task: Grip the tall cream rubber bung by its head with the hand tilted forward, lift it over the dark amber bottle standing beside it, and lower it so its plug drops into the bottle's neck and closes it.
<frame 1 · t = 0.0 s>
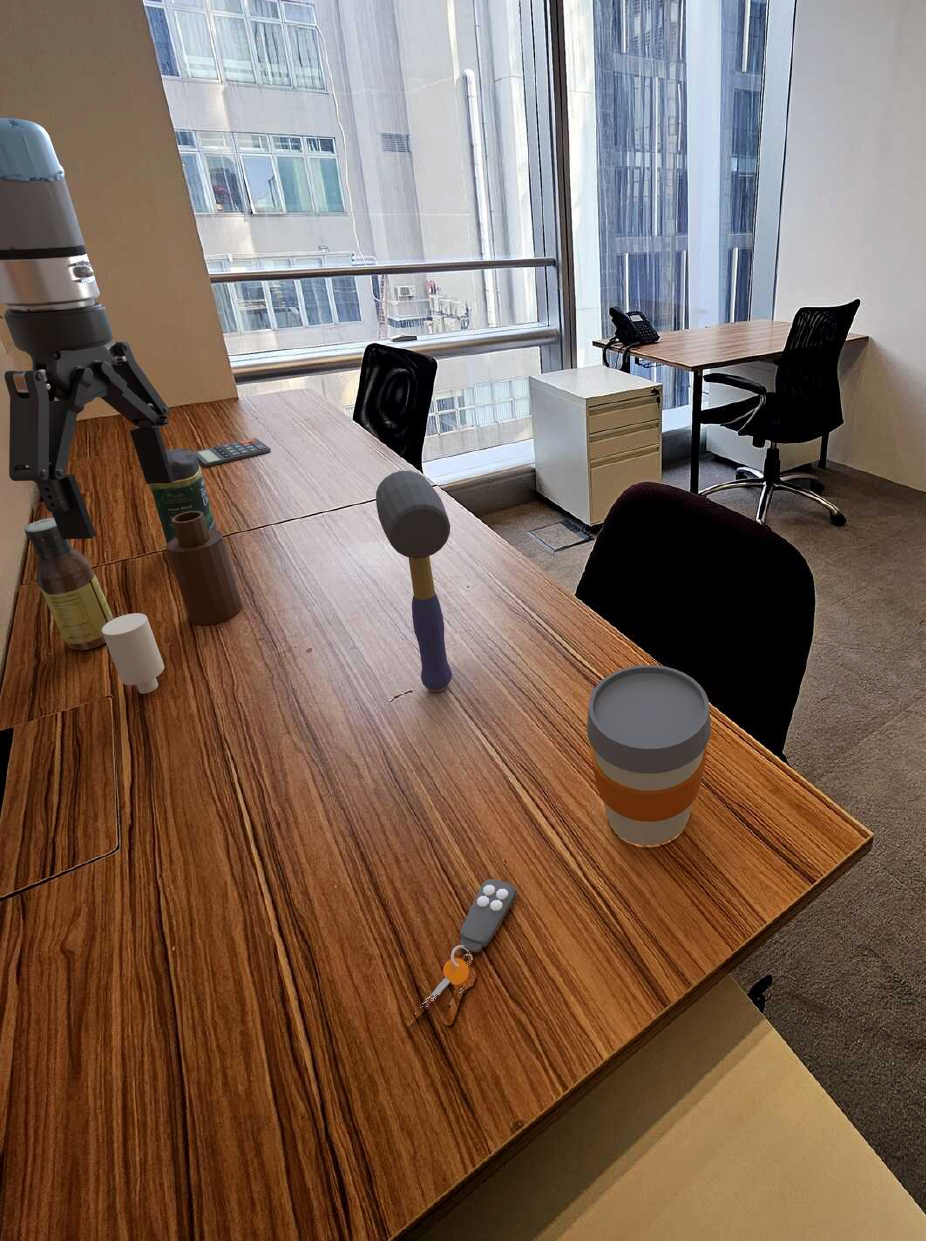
hand: (123, 507, 72), 30 cm above the table, tool pointing down, fingers open, 13 cm apart
bottle: (216, 612, 108), on the table
key chain: (467, 956, 60), on the table
bung: (148, 688, 91), on the table
coffee jar: (196, 546, 128), on the table
rubber mallet: (438, 687, 92), on the table
calculator: (232, 453, 172), on the table
sauce bottle: (93, 642, 101), on the table
reusable coffee cup: (647, 813, 73), on the table
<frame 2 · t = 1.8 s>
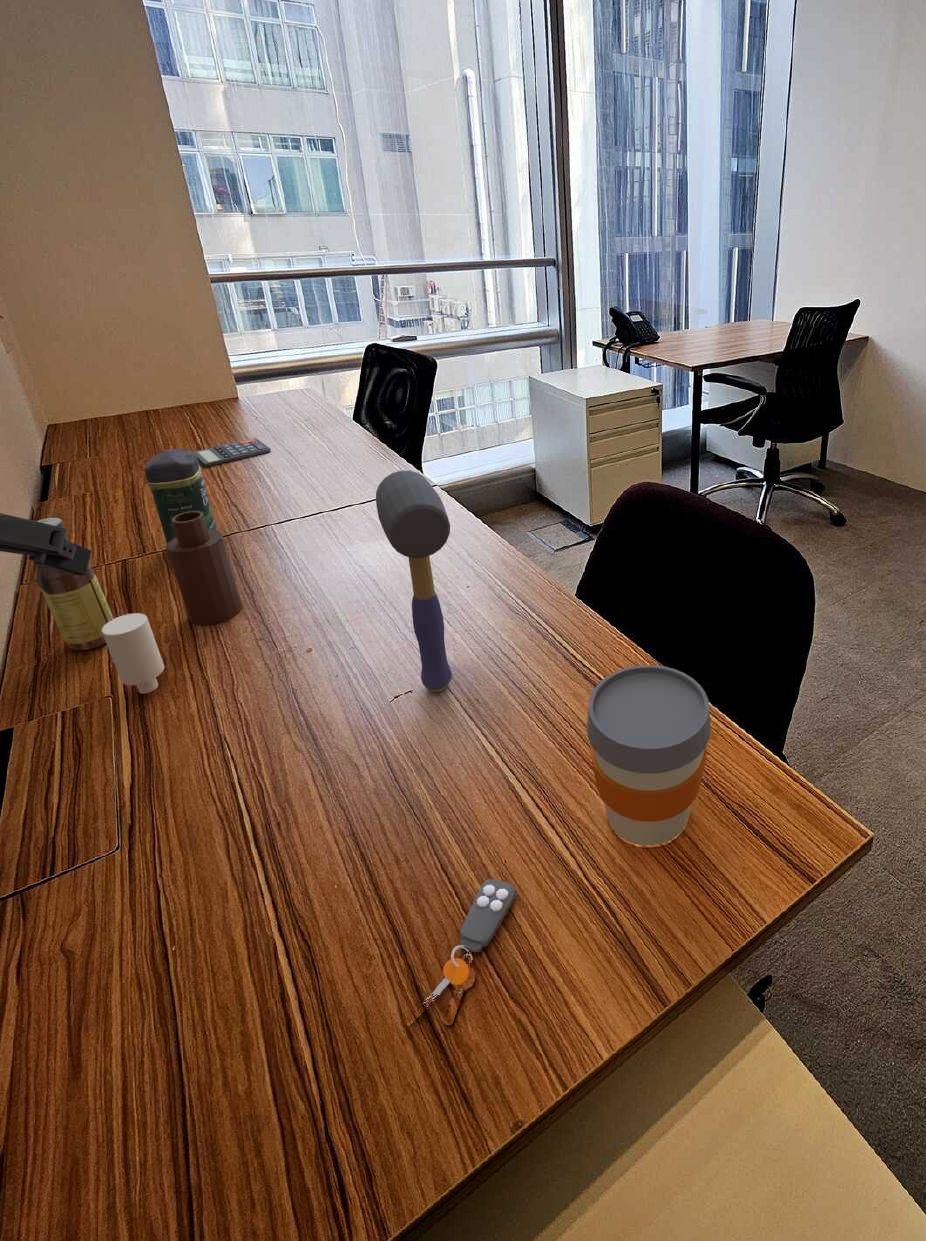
hand: (17, 565, 71), 25 cm above the table, tool tilted 45°, fingers open, 13 cm apart
nothing on the table moved.
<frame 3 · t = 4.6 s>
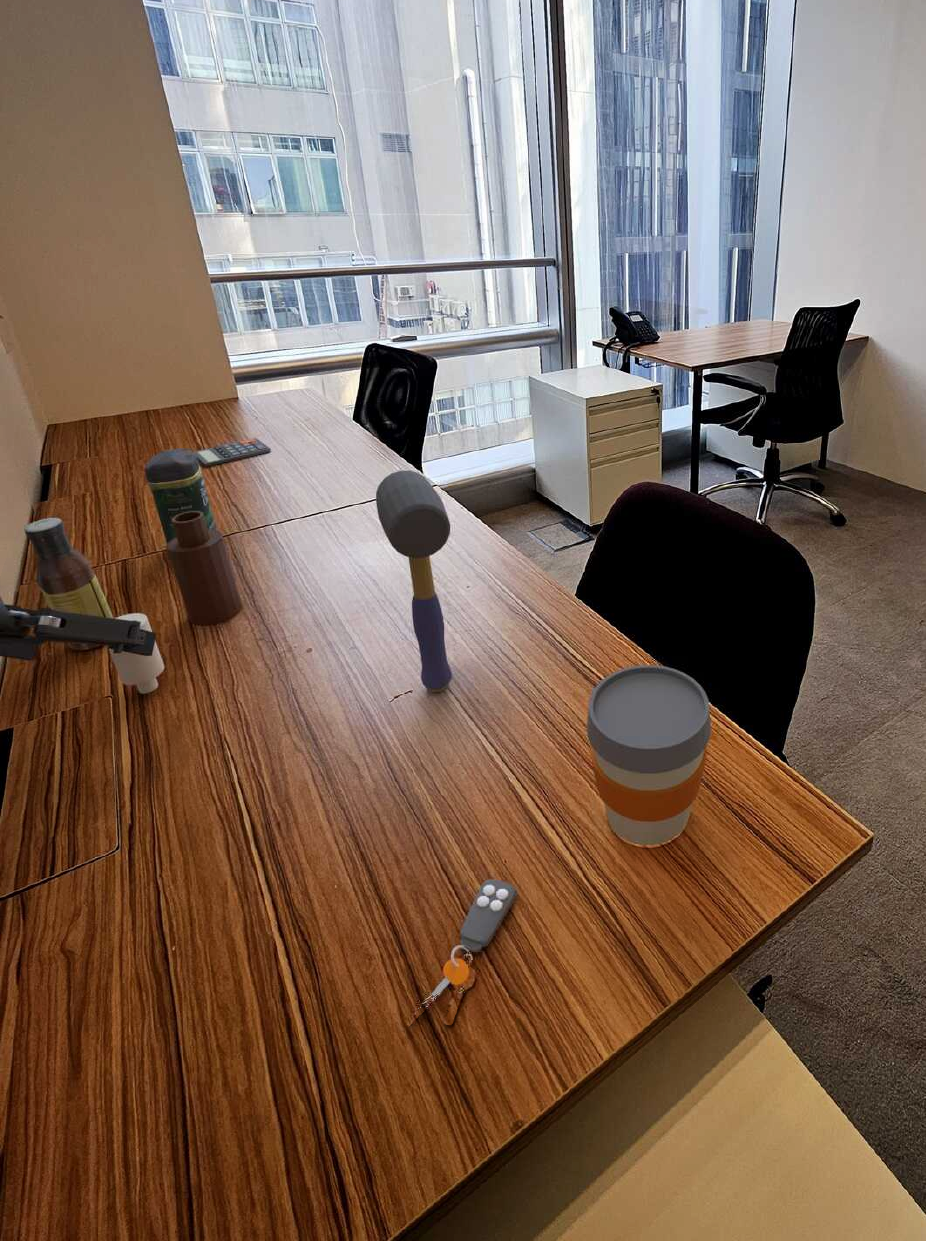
hand: (92, 646, 82), 11 cm above the table, tool tilted 45°, fingers open, 13 cm apart
nothing on the table moved.
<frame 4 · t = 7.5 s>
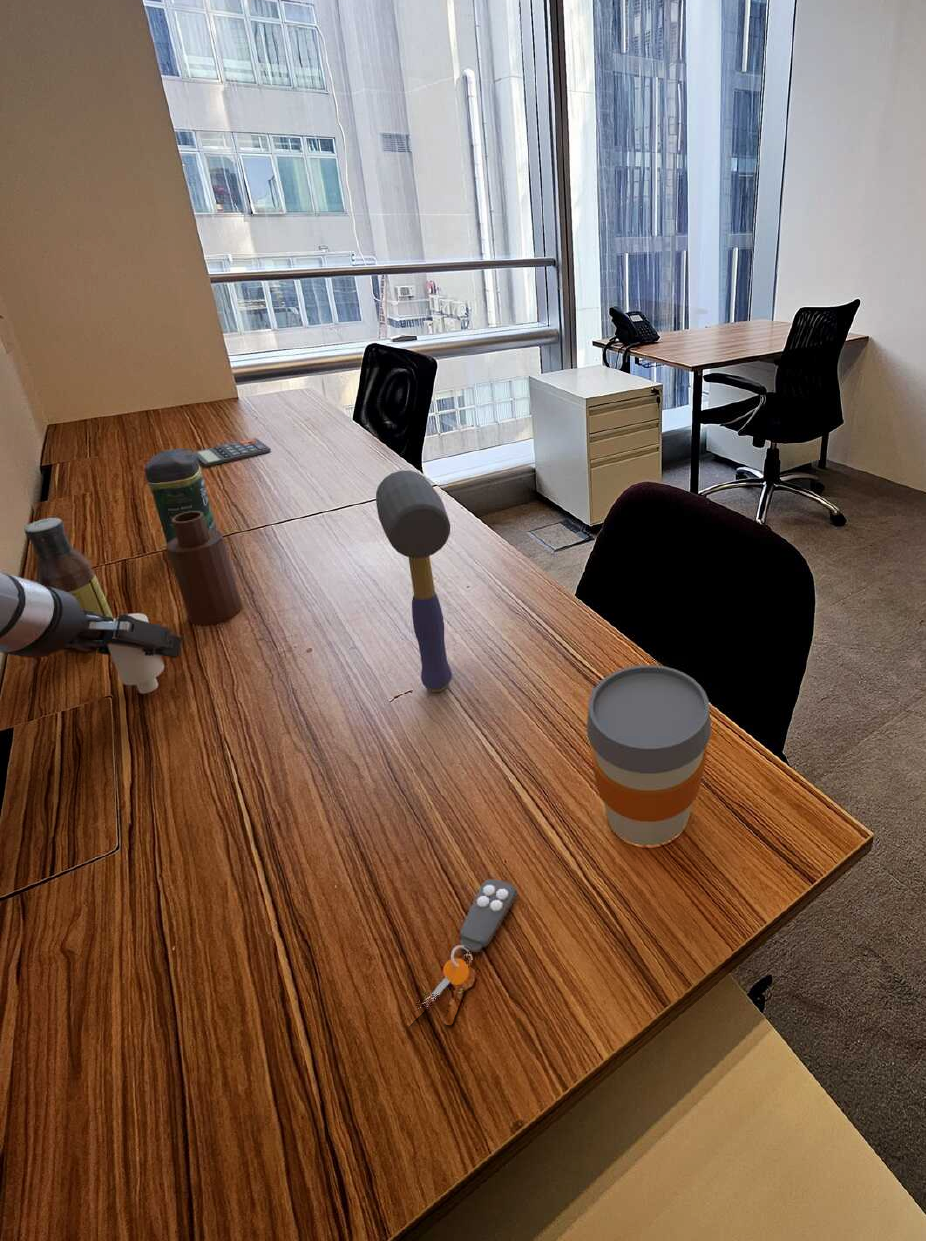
hand: (156, 648, 93), 4 cm above the table, tool tilted 45°, fingers closed on bung, 5 cm apart
bung: (148, 688, 91), on the table, touching gripper
everything else where it was.
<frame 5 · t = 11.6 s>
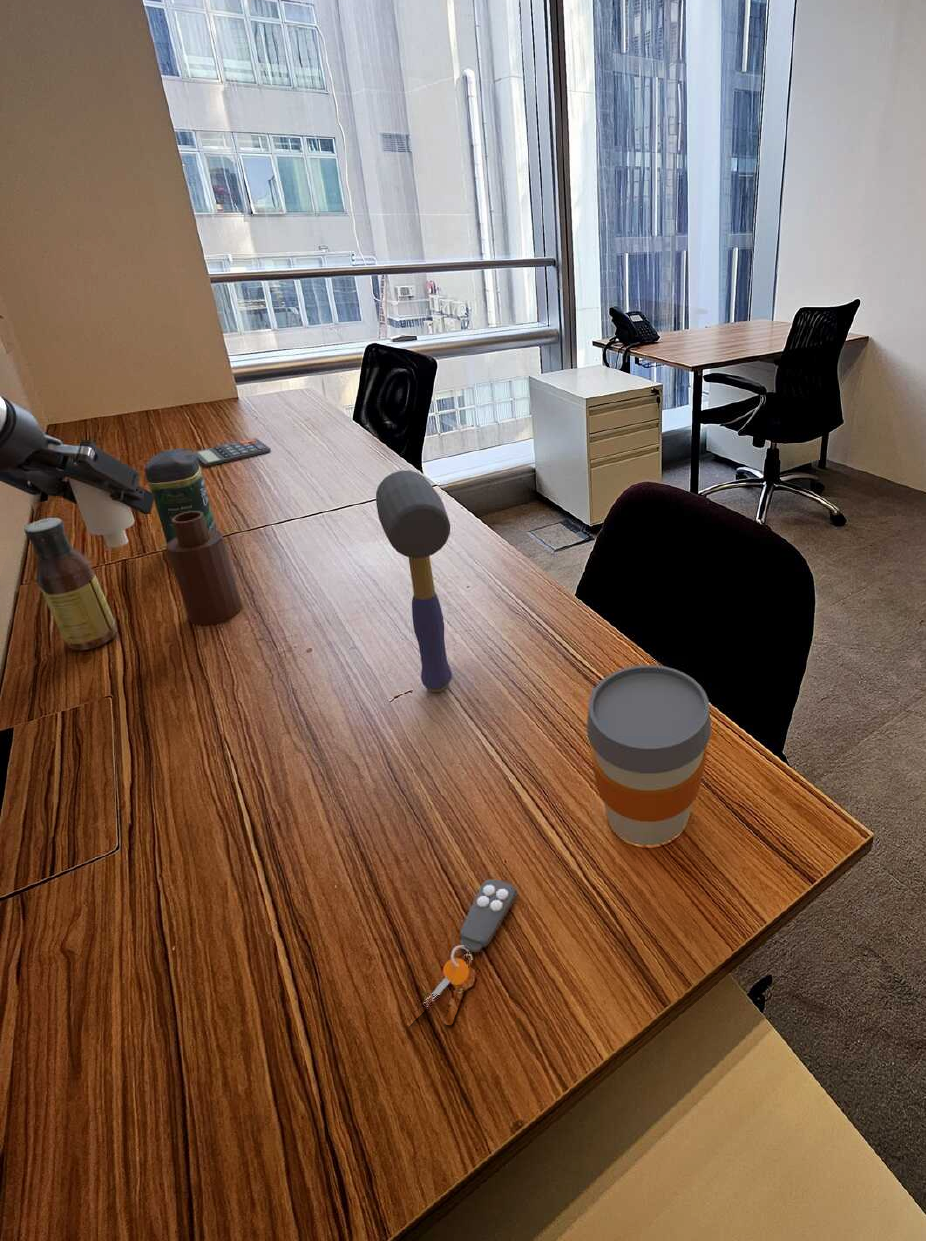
hand: (127, 504, 88), 24 cm above the table, tool tilted 45°, fingers closed on bung, 5 cm apart
bung: (117, 543, 86), point 20 cm above the table, touching gripper
everything else where it was.
when the fingers open (18 cm above the table, at t = 15.9 s): bung stays where it is, resting on bottle.
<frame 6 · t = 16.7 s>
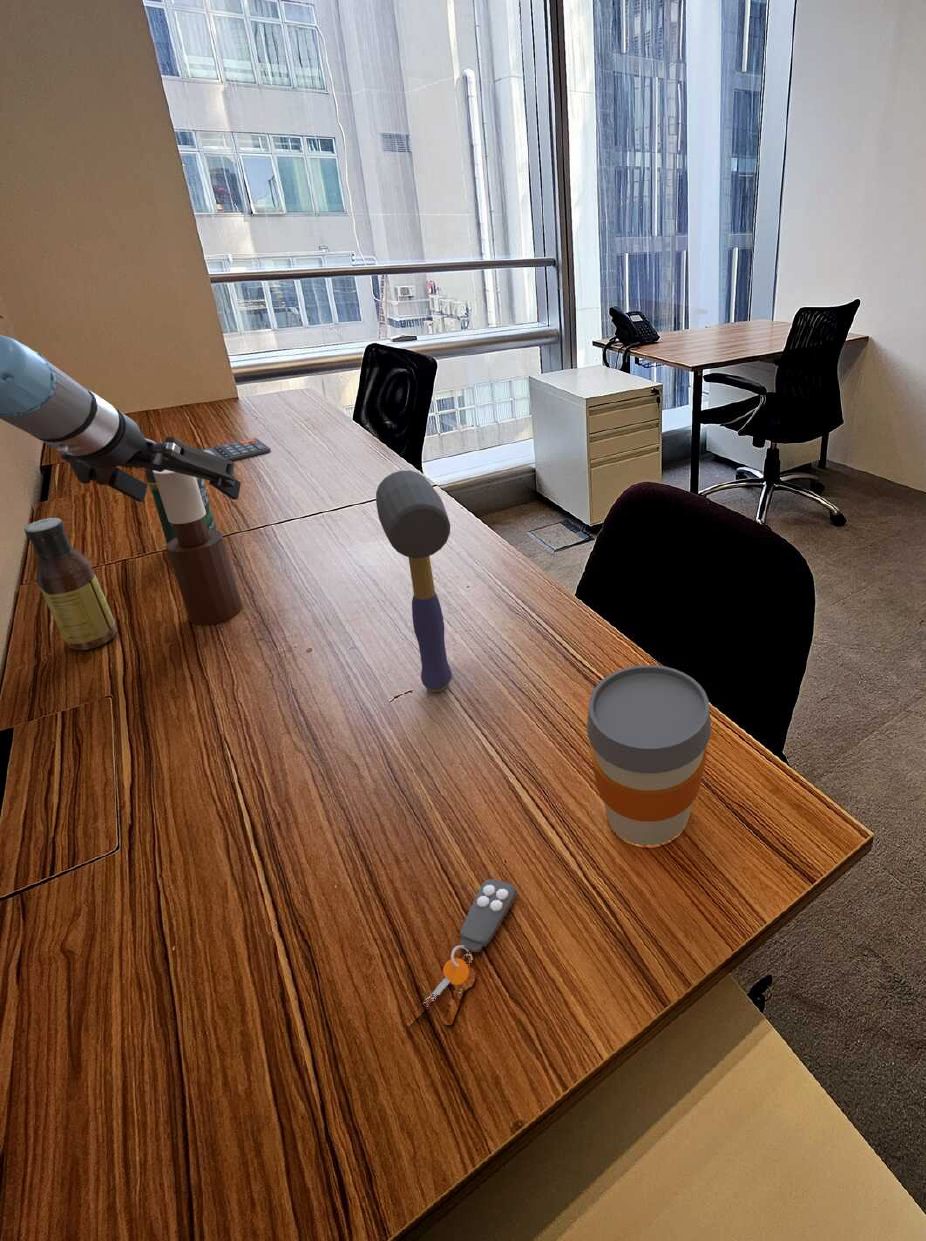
hand: (190, 492, 102), 20 cm above the table, tool tilted 45°, fingers open, 13 cm apart
bung: (192, 531, 102), point 14 cm above the table, touching bottle
everything else where it was.
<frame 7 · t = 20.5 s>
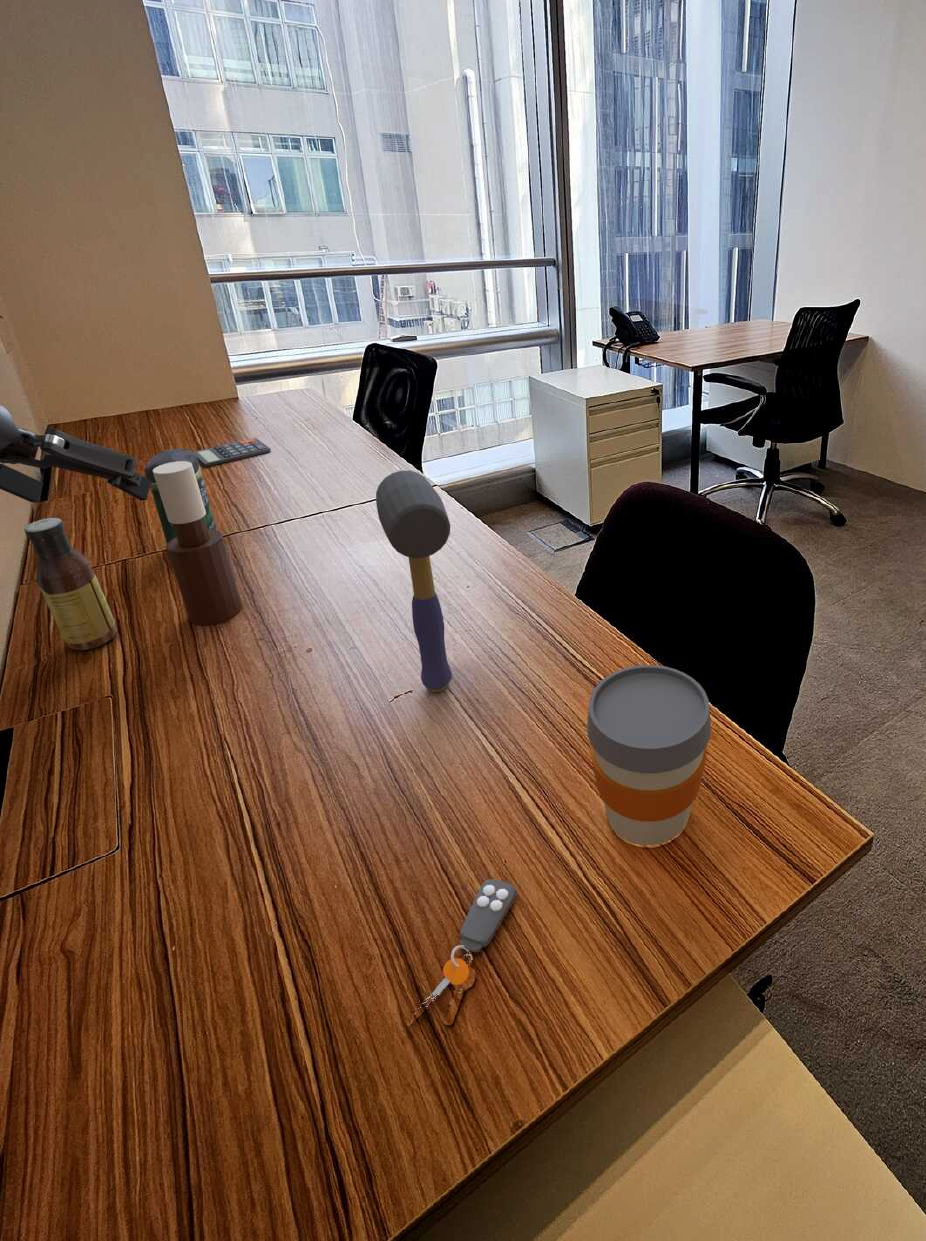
hand: (92, 491, 89), 25 cm above the table, tool tilted 45°, fingers open, 13 cm apart
nothing on the table moved.
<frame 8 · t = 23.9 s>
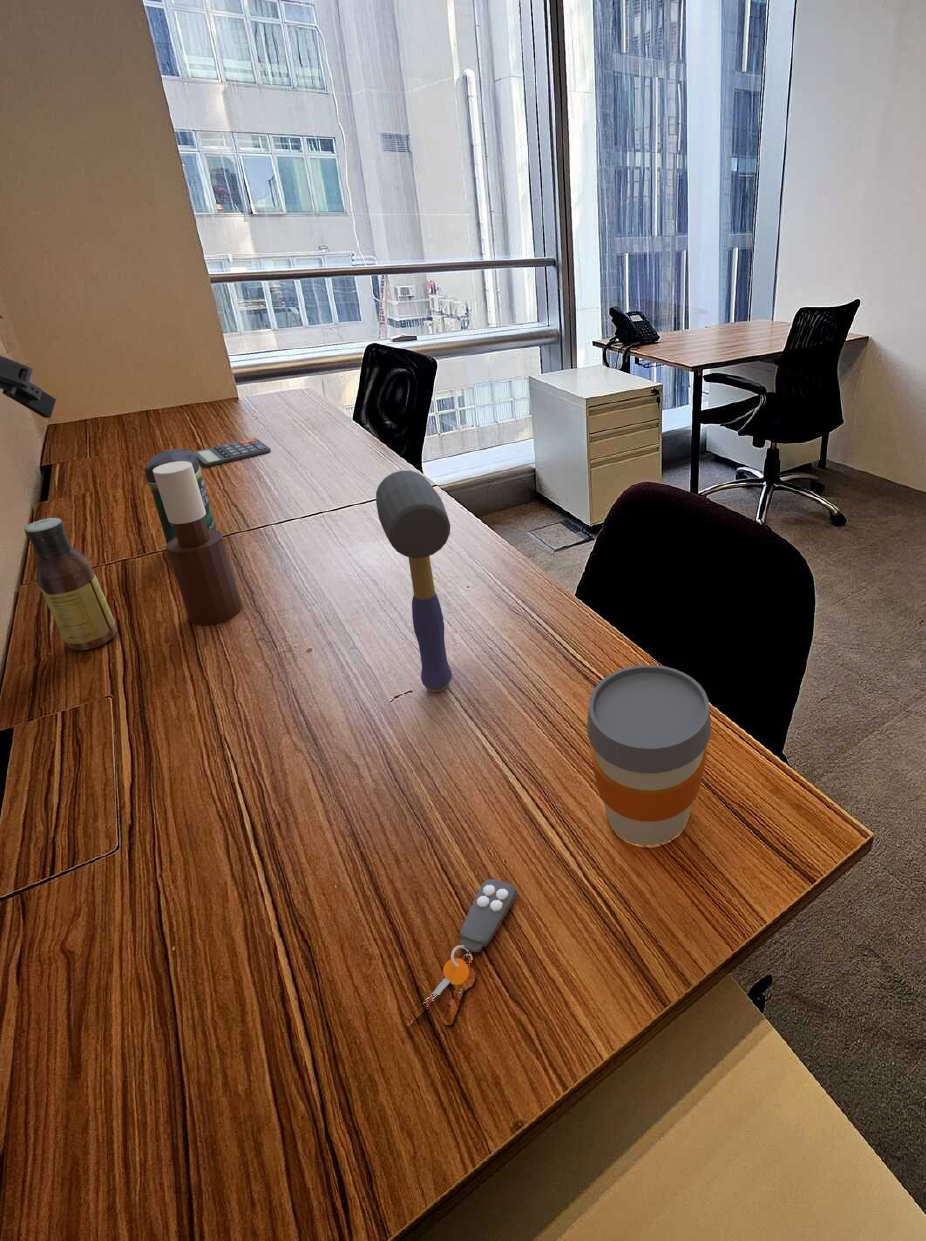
nothing on the table moved.
at the end: bung 0.0 cm off-centre in the bottle, point 14.5 cm above the bottle's base; bung tilted 0°; the gripper is holding nothing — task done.
